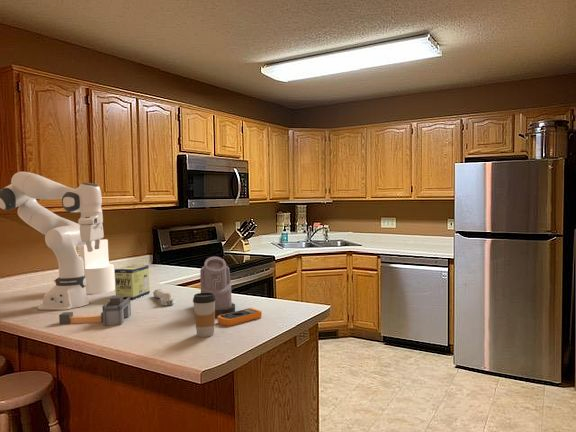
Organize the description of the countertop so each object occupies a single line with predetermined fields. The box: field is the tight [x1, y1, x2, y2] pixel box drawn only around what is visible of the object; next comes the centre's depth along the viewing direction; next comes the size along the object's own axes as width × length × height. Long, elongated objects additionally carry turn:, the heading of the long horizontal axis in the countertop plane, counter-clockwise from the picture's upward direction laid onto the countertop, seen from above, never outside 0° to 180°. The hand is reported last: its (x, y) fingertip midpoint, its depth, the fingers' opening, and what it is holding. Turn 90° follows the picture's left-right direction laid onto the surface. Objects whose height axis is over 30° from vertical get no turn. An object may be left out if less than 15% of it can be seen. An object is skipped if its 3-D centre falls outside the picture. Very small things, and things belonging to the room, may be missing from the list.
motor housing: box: [102, 295, 132, 327], centre depth 190 cm, size 7×15×10 cm, turn 4°
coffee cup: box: [192, 292, 216, 338], centre depth 167 cm, size 8×8×15 cm
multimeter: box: [216, 307, 262, 327], centre depth 185 cm, size 9×18×3 cm, turn 132°
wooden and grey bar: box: [58, 311, 103, 325], centre depth 189 cm, size 24×4×4 cm, turn 94°
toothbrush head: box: [152, 288, 174, 307], centre depth 223 cm, size 5×7×25 cm
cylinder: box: [78, 238, 116, 295], centre depth 252 cm, size 17×17×28 cm
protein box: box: [114, 264, 151, 301], centre depth 235 cm, size 10×16×16 cm
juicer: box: [199, 256, 236, 320], centre depth 203 cm, size 30×16×24 cm, turn 15°
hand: (93, 250), depth 200 cm, fingers open, 8 cm apart
